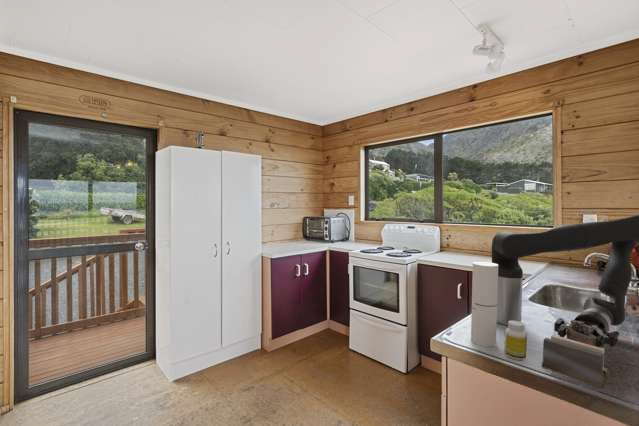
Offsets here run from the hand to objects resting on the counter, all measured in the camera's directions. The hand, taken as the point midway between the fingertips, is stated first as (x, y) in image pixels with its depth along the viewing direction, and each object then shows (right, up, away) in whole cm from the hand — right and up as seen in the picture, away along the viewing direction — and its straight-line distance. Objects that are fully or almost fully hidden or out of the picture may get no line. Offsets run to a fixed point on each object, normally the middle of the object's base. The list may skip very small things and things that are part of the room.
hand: (578, 338), depth 87 cm
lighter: (+2, -6, +2) cm, 7 cm away
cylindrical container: (-18, -7, +15) cm, 25 cm away
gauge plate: (-2, -6, -1) cm, 7 cm away
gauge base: (-2, -8, -1) cm, 8 cm away
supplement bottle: (-14, -8, +6) cm, 17 cm away
